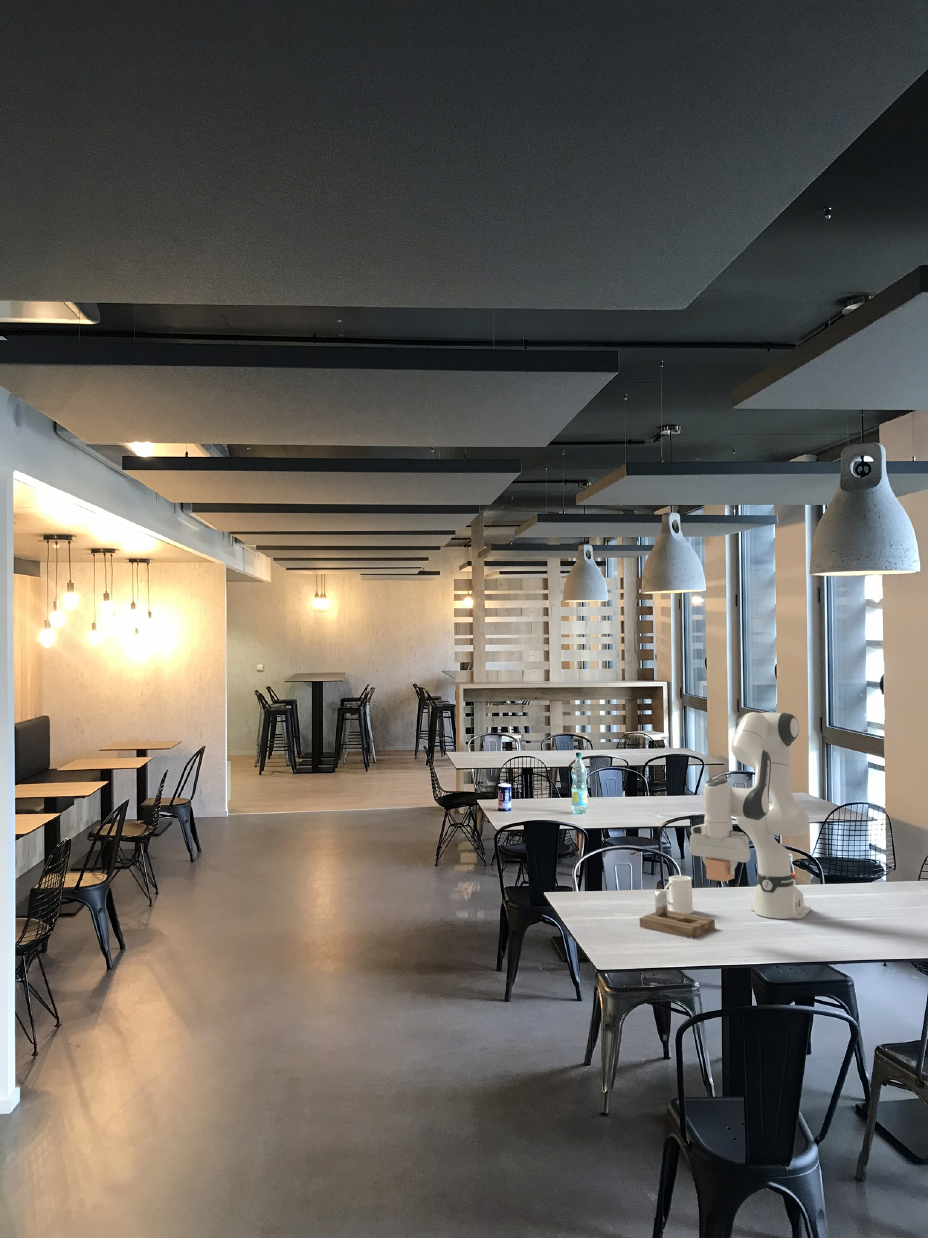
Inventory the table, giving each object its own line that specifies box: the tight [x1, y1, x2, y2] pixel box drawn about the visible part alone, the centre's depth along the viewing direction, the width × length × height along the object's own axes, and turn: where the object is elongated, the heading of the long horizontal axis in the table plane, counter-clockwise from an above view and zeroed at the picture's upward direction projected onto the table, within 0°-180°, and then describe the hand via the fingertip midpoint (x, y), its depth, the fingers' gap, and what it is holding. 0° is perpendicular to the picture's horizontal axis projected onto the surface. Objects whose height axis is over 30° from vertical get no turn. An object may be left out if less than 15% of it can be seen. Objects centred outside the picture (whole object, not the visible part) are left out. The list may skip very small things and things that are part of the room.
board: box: [639, 909, 716, 938], centre depth 290 cm, size 15×20×3 cm
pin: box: [654, 889, 668, 917], centre depth 295 cm, size 4×4×8 cm
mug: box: [663, 874, 694, 915], centre depth 311 cm, size 12×8×12 cm
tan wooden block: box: [705, 858, 735, 882], centre depth 278 cm, size 6×6×6 cm
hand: (720, 872), depth 278 cm, fingers closed on tan wooden block, 6 cm apart
